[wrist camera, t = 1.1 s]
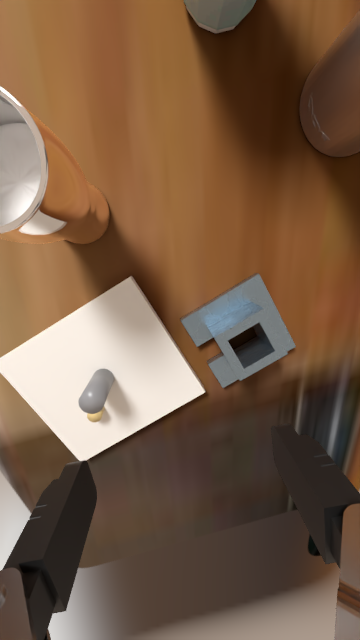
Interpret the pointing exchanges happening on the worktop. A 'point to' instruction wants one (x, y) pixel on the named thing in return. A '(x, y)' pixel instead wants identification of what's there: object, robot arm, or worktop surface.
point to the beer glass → (43, 184)
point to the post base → (103, 347)
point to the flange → (240, 330)
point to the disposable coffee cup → (218, 13)
